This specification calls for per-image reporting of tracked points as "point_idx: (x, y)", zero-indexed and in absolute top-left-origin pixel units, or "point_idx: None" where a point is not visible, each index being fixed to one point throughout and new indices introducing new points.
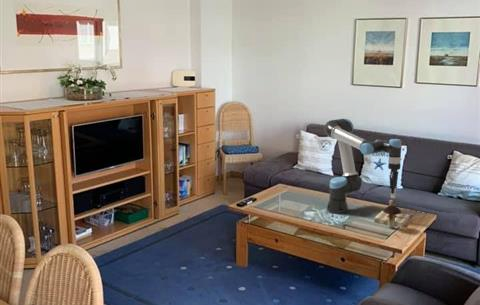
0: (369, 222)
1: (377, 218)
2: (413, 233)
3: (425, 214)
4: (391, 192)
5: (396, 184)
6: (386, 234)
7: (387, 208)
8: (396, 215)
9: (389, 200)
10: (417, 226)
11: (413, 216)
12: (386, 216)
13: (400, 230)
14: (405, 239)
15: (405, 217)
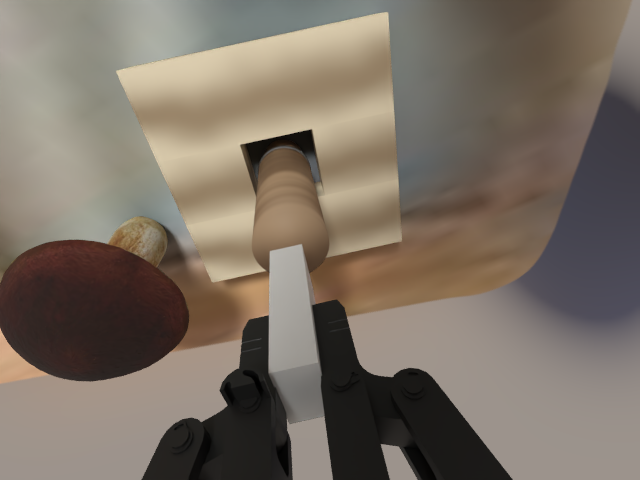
0: (90, 32)
1: (133, 105)
2: (182, 341)
3: (532, 249)
4: (243, 336)
5: (412, 468)
6: None
7: (8, 326)
8: (332, 185)
9: (265, 220)
10: None
11: (461, 219)
12: (250, 139)
13: None
14: None
15: (331, 250)
